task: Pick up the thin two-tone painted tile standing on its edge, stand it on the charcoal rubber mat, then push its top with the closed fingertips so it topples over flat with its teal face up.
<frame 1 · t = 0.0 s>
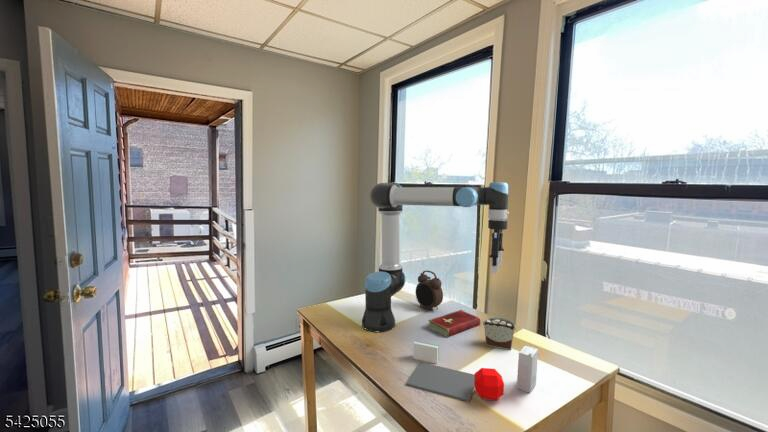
hand: (496, 269, 139), 28 cm above the table, fingers open, 13 cm apart
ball: (488, 396, 100), on the table
skincare box: (526, 387, 104), on the table
tile: (426, 359, 121), on the table
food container: (499, 344, 132), on the table
mat: (442, 380, 108), on the table
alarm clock: (428, 309, 170), on the table
hardcover book: (454, 327, 149), on the table
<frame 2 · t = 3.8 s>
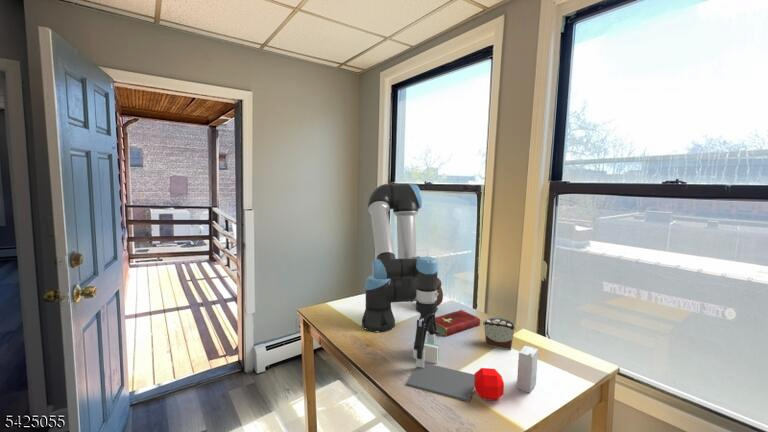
hand: (425, 358, 120), 1 cm above the table, fingers open, 12 cm apart
nothing on the table moved.
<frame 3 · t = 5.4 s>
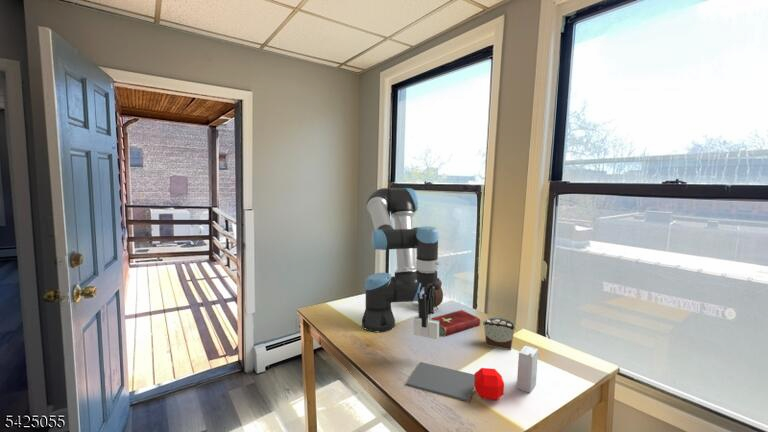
hand: (425, 332, 121), 10 cm above the table, fingers closed on tile, 2 cm apart
tile: (426, 335, 121), point 9 cm above the table, touching gripper
everything else where it was.
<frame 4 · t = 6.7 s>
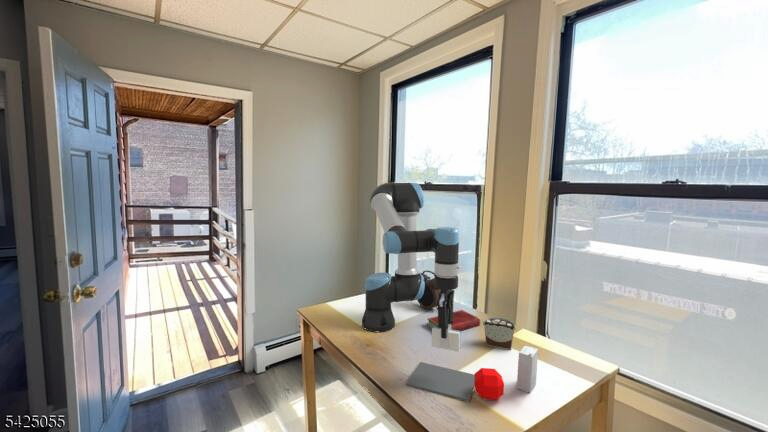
hand: (445, 344, 109), 11 cm above the table, fingers closed on tile, 2 cm apart
tile: (445, 347, 109), point 10 cm above the table, touching gripper
everything else where it was.
when the fingers open (2 cm above the table, at t = 8.2 s): tile stays where it is, resting on mat.
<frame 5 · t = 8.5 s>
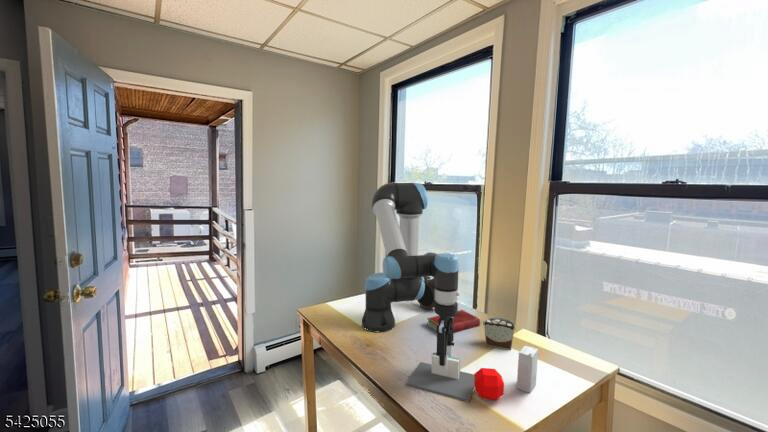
hand: (445, 368, 110), 3 cm above the table, fingers open, 5 cm apart
tile: (445, 374, 110), point 1 cm above the table, touching mat
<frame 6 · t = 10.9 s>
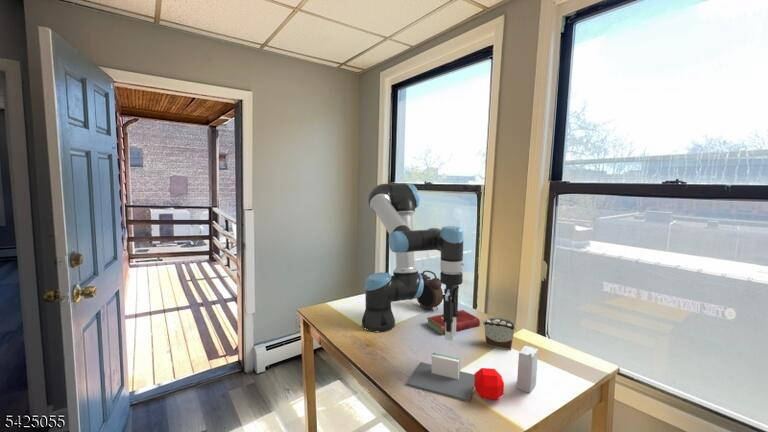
hand: (450, 336, 116), 11 cm above the table, fingers open, 3 cm apart
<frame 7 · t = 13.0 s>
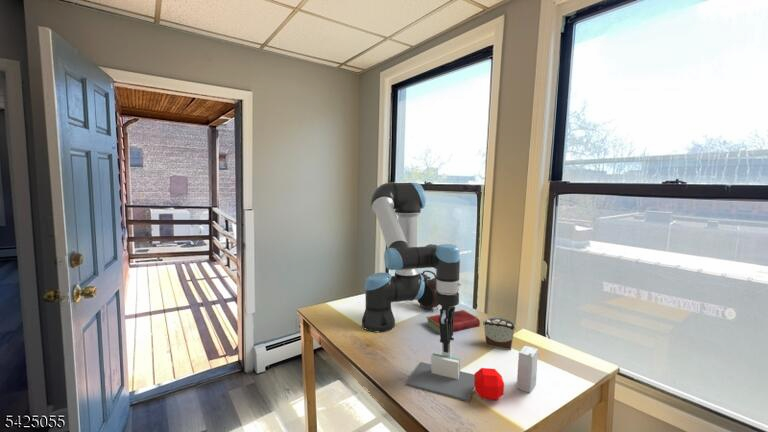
hand: (446, 359, 111), 5 cm above the table, fingers closed
tile: (445, 374, 110), point 1 cm above the table, tilted 5°, touching gripper, mat
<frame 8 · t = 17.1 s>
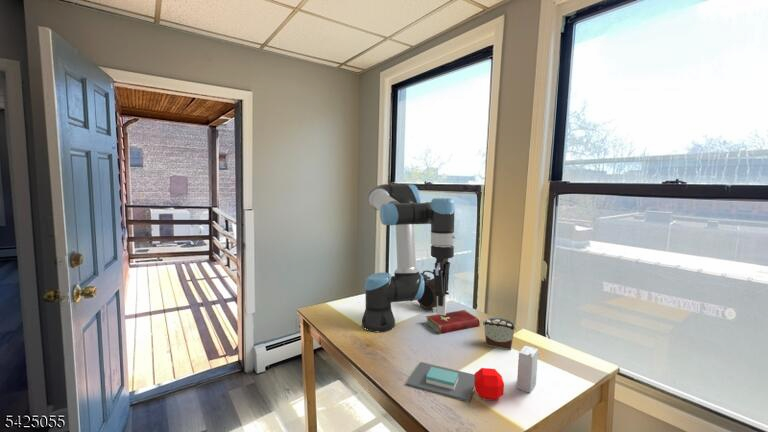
hand: (441, 314, 111), 20 cm above the table, fingers closed
tile: (444, 373, 109), point 2 cm above the table, tilted 90°, touching mat
at the end: tile tilted 90°; tile inside the target area on the mat (1.9 cm from its centre), point 1.7 cm above the mat's base; the gripper is holding nothing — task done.
